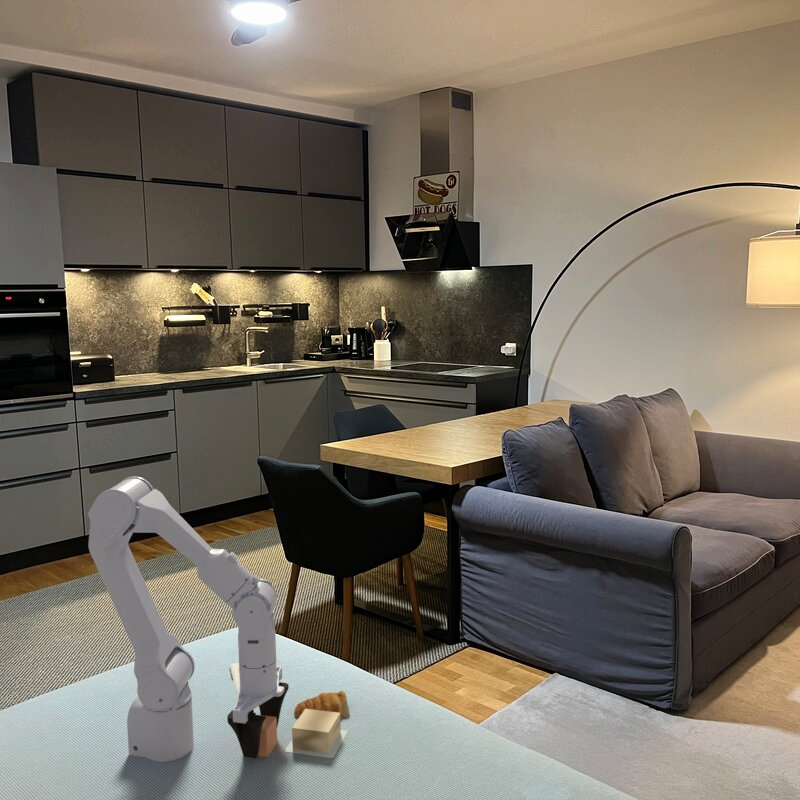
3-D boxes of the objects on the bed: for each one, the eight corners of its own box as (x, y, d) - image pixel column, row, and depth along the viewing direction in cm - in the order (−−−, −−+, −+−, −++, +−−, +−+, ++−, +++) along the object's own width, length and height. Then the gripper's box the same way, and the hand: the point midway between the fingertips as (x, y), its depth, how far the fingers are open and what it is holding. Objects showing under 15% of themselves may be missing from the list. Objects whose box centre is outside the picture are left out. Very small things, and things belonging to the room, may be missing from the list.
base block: (292, 748, 124) (292, 727, 124) (305, 728, 130) (305, 708, 129) (328, 753, 123) (328, 732, 122) (340, 733, 128) (340, 712, 128)
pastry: (296, 730, 131) (296, 708, 131) (291, 711, 138) (291, 690, 137) (352, 722, 134) (351, 701, 133) (344, 703, 140) (344, 683, 140)
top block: (243, 754, 123) (242, 727, 122) (253, 740, 127) (252, 714, 126) (267, 757, 122) (266, 730, 121) (277, 743, 126) (276, 716, 125)
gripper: (262, 685, 114) (266, 772, 116) (298, 643, 128) (300, 721, 130) (218, 680, 116) (222, 766, 118) (258, 639, 130) (261, 716, 132)
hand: (260, 742), depth 124 cm, fingers open, 7 cm apart
